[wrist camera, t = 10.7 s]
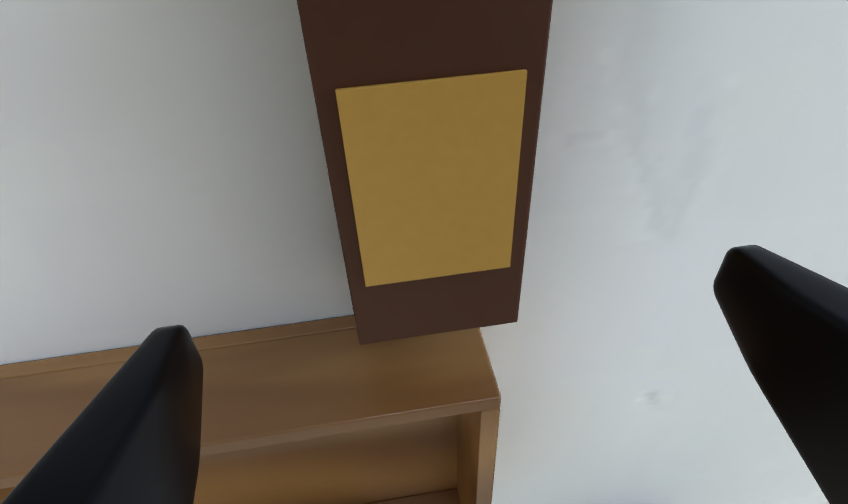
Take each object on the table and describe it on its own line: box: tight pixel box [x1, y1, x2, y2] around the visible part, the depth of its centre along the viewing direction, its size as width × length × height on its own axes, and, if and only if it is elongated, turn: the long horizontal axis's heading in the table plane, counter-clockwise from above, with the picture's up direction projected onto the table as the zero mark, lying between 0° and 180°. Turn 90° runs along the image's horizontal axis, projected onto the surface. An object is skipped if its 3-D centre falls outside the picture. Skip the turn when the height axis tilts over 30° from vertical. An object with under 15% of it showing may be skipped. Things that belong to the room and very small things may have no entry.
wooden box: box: [0, 315, 501, 504], centre depth 21 cm, size 13×16×4 cm
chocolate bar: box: [297, 0, 553, 345], centre depth 13 cm, size 10×4×3 cm, turn 2°
